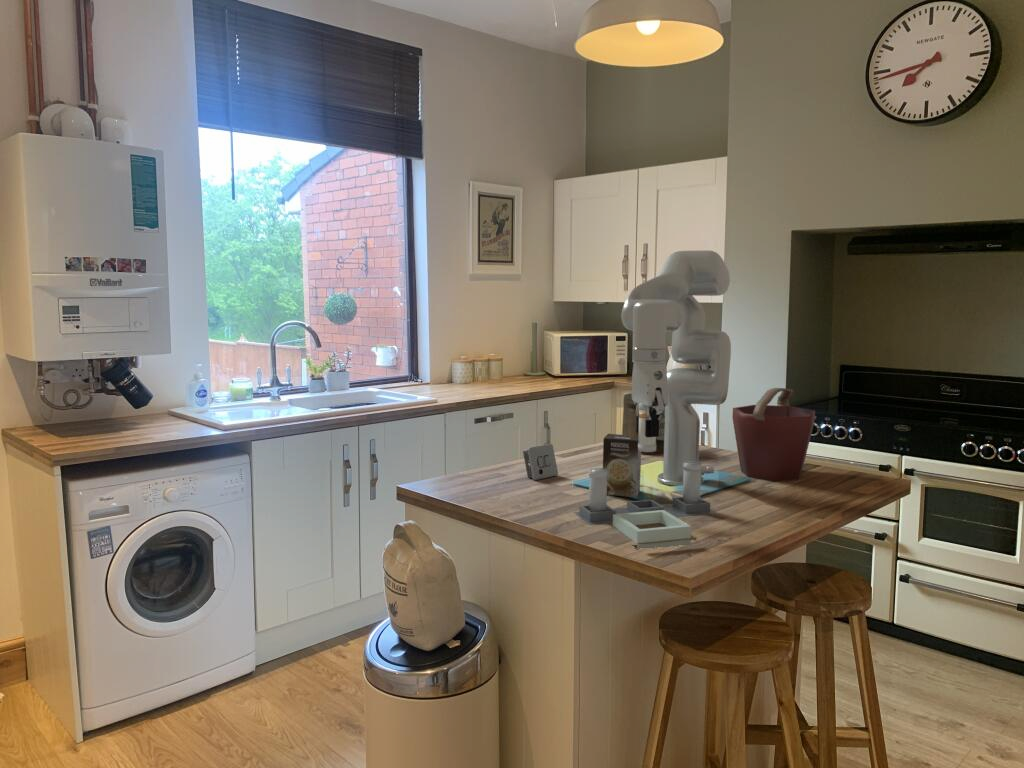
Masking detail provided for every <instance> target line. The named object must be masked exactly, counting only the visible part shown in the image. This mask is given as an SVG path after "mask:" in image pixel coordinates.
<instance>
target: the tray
mask: <svg viewBox="0 0 1024 768" xmlns="http://www.w3.org/2000/svg"><path fill="white" fill-rule="evenodd" d="M652 524H662V525H664V526H659V527H650V528H649V527H648V528H639V527H638V526H641V525H643V526H644V525H652ZM612 526H613V527H614V528H615V529H617V530H618V531H619V532H621V533H622V534H624V535H625V536H626V537H628V538H629V539H630V540H632V541H633V542H635V543H636V544H631V545H632V546H634V547H635V548H637V549H640V548H653V549H658V548H657V547H663V548H670V546H673V547H680V546H679V545H682V546H691V545H690V544H692V539H691V538H692V526H691V525H690V524H688V523H687V522H685V521H683V520H681V519H680V518H679V517H675V516H673V515H671V514H670V513H668V512H666V511H665V510H657V511H646V512H635V513H623V514H613V523H612ZM632 546H631V547H632ZM655 547H656V548H655ZM635 548H634V549H635Z"/></svg>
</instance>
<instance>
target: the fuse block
mask: <svg viewBox="0 0 1024 768" xmlns="http://www.w3.org/2000/svg"><path fill="white" fill-rule="evenodd" d="M657 510H665V511H666V512H668V513H670V514H671V515H673V516H675V517H676V518H682V517H690V516H691V517H692V516H703V515H712V514H713V515H715V514H717V512H716V511H714V510H712V509H711V502H709V501H707V500H705V499H703V498H702V497H700V503H695V504H686V503H684V502H683V496H678V497H672V503H665V504H663V503H662V504H660V503H658V502H656V501H655V500H653V499H646V500H645V499H644V500H643V499H642V500H632V501H626V507H620V508H619V507H615V508H612V507H611V506H609V505H608V504H607V508H606V511H603V512H592V513H591V512H590V511H589V504H586V505H585V504H584V505H583V504H582V505H579V511H574V512H573V513H574V514H575V515H576V516H577V517H579V518H580V519H581V520H583V521H584V522H585V523H586V524H588V525H589V526H592V525H593V526H594V525H605V524H613V514H623V513H635V512H646V511H657Z"/></svg>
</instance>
